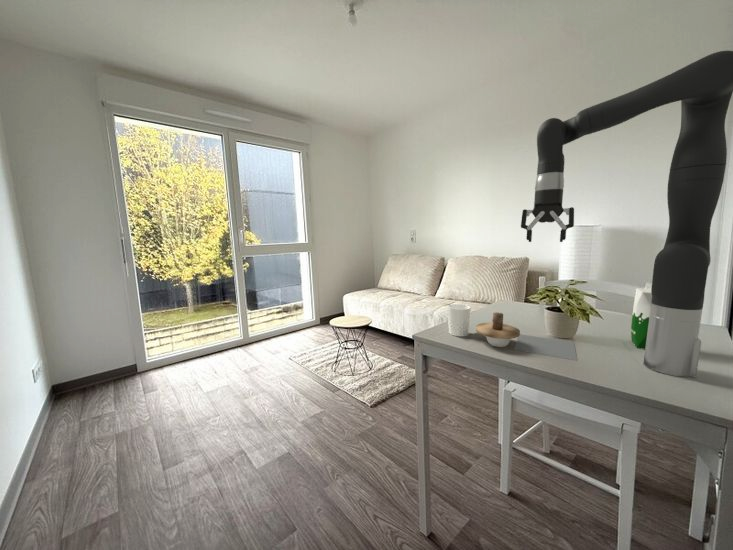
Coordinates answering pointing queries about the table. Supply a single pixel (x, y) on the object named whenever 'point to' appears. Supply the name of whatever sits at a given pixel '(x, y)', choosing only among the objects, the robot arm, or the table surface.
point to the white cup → (458, 319)
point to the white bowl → (497, 341)
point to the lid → (498, 328)
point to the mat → (546, 346)
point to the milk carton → (641, 316)
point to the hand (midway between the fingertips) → (545, 241)
